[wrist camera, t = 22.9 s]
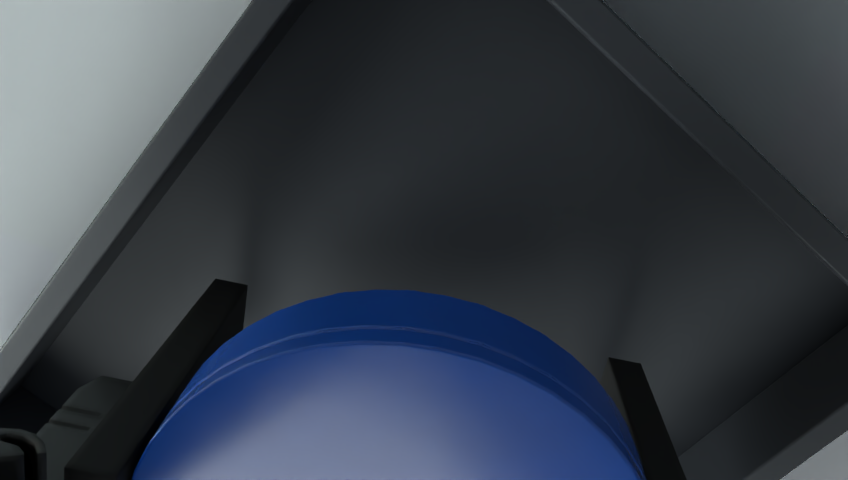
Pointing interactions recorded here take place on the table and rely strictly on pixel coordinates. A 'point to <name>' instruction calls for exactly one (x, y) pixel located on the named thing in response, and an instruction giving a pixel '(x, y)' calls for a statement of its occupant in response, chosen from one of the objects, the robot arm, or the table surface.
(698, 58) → the table surface
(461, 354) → the lid
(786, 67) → the table surface
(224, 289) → the robot arm
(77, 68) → the table surface
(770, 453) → the tray
